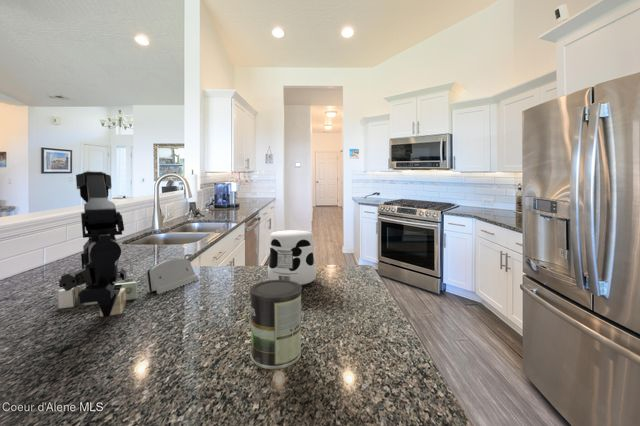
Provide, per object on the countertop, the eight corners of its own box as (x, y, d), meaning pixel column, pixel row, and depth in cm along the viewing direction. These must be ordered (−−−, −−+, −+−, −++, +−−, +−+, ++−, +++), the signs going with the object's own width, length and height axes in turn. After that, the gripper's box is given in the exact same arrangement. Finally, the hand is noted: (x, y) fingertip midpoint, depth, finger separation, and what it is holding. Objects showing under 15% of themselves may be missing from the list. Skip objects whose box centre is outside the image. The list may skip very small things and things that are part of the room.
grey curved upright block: (157, 294, 93) (149, 264, 94) (148, 297, 95) (140, 267, 96) (199, 279, 108) (192, 254, 109) (191, 282, 110) (184, 256, 111)
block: (107, 307, 84) (106, 290, 83) (126, 304, 86) (125, 288, 85) (100, 317, 77) (99, 298, 77) (120, 314, 79) (119, 296, 79)
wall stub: (61, 306, 84) (60, 289, 83) (75, 304, 85) (74, 287, 85) (59, 308, 82) (57, 291, 82) (73, 306, 84) (72, 289, 83)
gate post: (76, 304, 85) (75, 286, 85) (84, 303, 86) (82, 285, 86) (74, 306, 84) (72, 288, 83) (81, 305, 84) (80, 287, 84)
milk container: (305, 273, 117) (305, 228, 115) (324, 286, 101) (324, 235, 100) (262, 279, 109) (261, 231, 108) (276, 294, 94) (275, 239, 92)
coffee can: (247, 371, 55) (245, 297, 53) (254, 342, 65) (253, 280, 64) (302, 368, 55) (302, 296, 54) (301, 340, 66) (301, 278, 64)
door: (85, 303, 86) (84, 286, 86) (137, 297, 91) (136, 281, 91) (82, 306, 84) (81, 289, 83) (136, 300, 89) (135, 283, 88)
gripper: (76, 251, 79) (80, 307, 81) (45, 269, 62) (50, 340, 64) (125, 248, 84) (128, 301, 85) (108, 264, 67) (112, 330, 68)
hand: (107, 316), depth 75 cm, fingers closed
